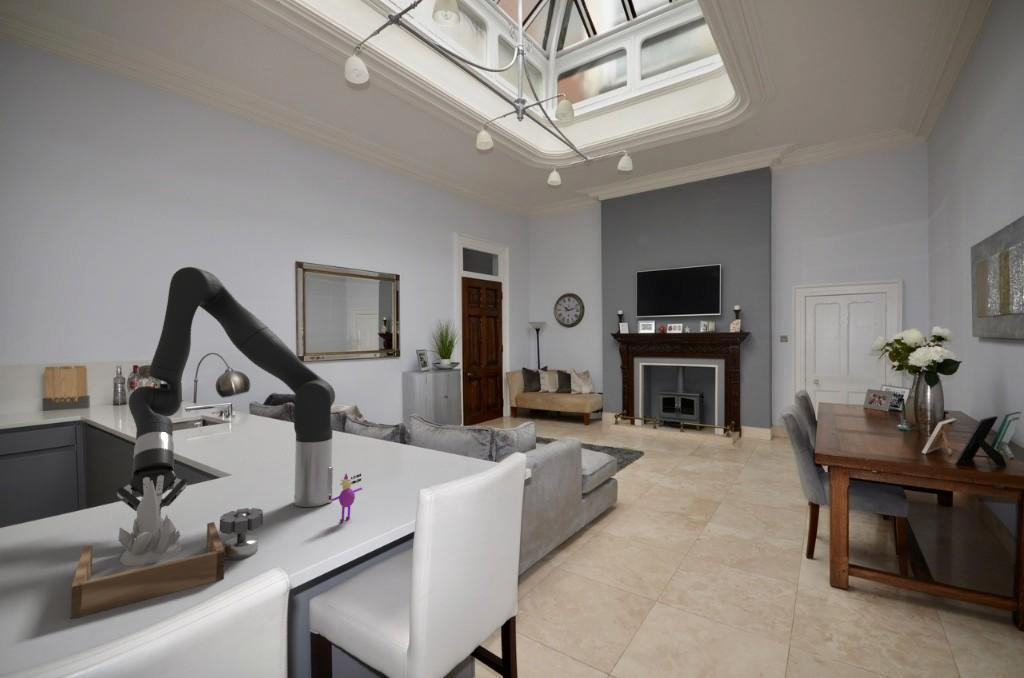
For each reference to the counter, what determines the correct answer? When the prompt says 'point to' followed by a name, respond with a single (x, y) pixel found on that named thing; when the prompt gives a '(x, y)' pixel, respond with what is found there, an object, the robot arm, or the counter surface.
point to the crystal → (149, 534)
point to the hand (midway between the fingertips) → (152, 524)
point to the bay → (144, 579)
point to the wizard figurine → (346, 494)
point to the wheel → (241, 521)
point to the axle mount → (241, 545)
